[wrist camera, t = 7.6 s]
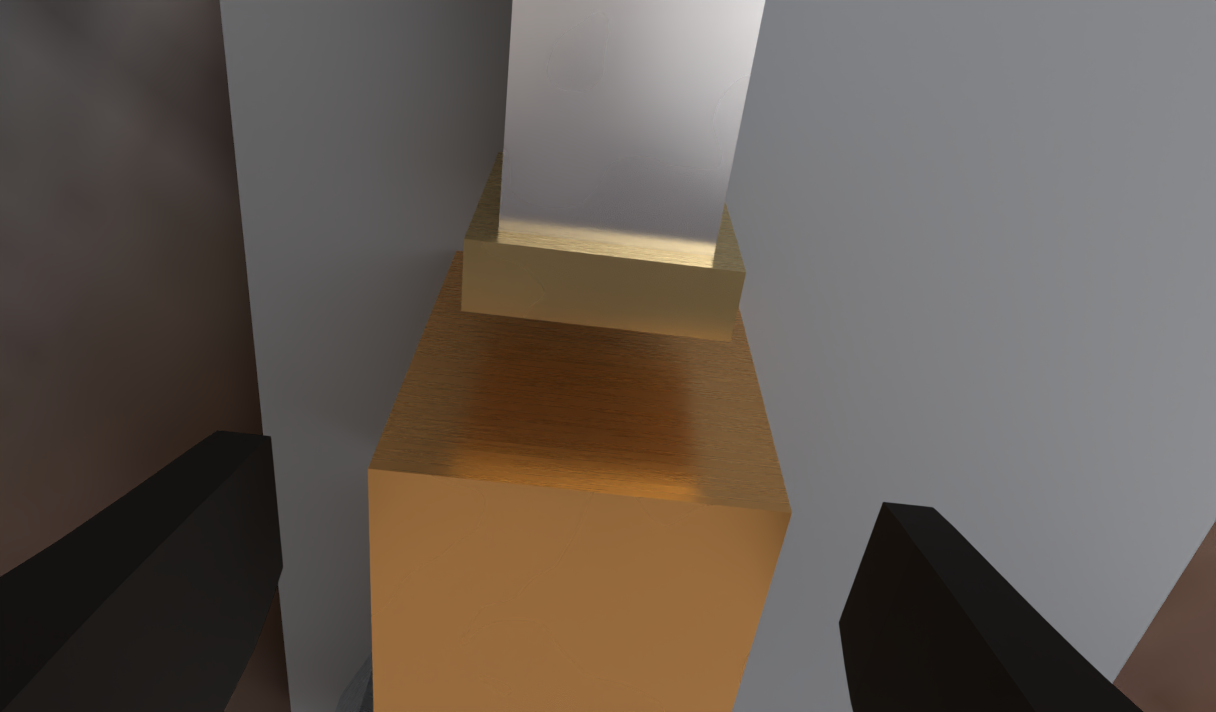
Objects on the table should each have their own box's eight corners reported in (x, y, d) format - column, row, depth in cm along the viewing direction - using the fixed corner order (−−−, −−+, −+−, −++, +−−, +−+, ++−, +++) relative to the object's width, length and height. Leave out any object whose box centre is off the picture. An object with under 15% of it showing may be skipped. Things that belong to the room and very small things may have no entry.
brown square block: (686, 495, 14) (714, 769, 10) (448, 470, 14) (374, 739, 10) (732, 283, 12) (791, 513, 8) (456, 250, 12) (368, 468, 8)
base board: (1671, -419, 10) (1837, -460, 8) (988, 777, 21) (1013, 839, 19) (213, -665, 9) (144, -754, 7) (318, 717, 20) (297, 778, 19)
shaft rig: (856, -478, 8) (988, -660, 5) (604, 782, 19) (601, 963, 16) (270, -573, 8) (59, -825, 5) (343, 759, 18) (288, 939, 15)
